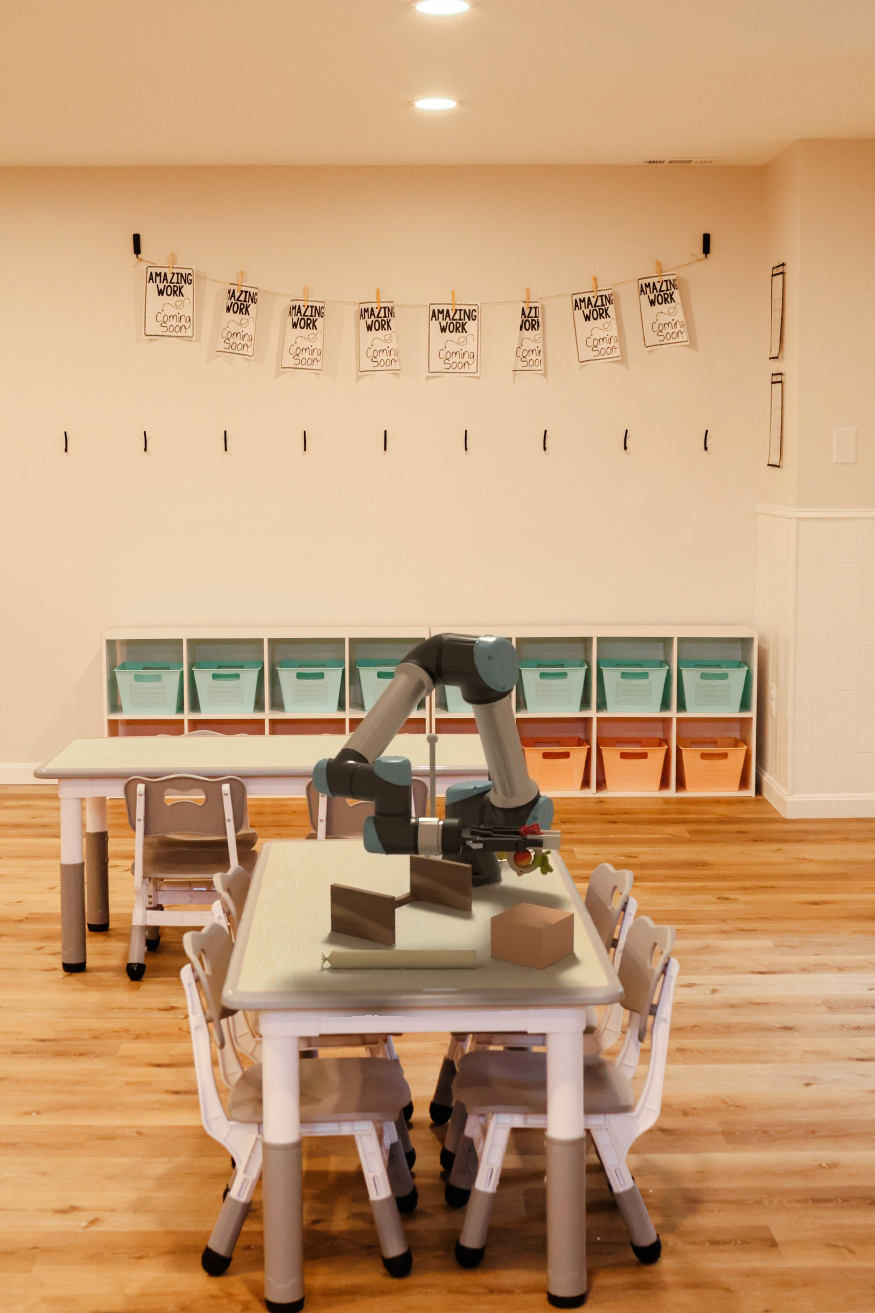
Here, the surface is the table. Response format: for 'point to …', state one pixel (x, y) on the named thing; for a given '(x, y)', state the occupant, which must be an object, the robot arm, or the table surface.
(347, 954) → the tan piece
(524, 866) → the bird rattle
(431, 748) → the flag stand
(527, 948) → the terracotta stand
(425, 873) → the walnut slot
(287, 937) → the table surface
